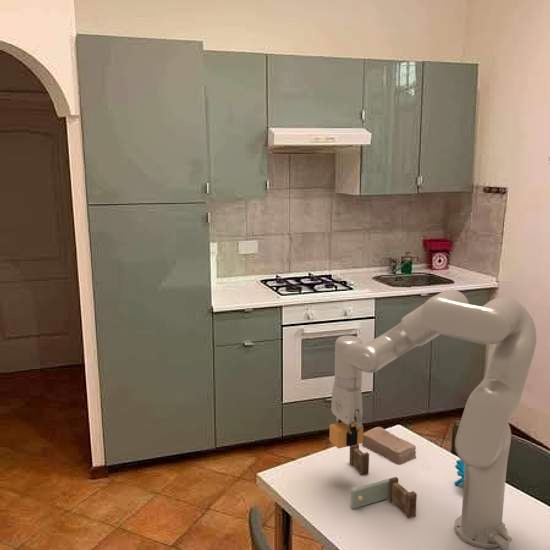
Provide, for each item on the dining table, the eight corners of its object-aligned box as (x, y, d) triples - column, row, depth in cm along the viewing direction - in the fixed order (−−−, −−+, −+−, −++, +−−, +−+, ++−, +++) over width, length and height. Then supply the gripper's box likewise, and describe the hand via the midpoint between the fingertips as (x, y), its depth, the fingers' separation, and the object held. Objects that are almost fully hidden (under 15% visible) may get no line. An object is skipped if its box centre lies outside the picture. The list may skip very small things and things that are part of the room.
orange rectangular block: (362, 443, 164) (363, 426, 163) (338, 448, 161) (338, 432, 160) (353, 435, 169) (354, 419, 168) (329, 440, 166) (329, 424, 165)
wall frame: (415, 516, 152) (416, 493, 151) (408, 518, 151) (409, 496, 150) (356, 462, 179) (356, 442, 178) (349, 464, 178) (349, 444, 177)
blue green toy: (477, 496, 158) (454, 463, 161) (461, 506, 161) (438, 473, 164) (489, 483, 167) (466, 452, 170) (473, 492, 170) (451, 462, 173)
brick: (417, 457, 182) (417, 443, 181) (399, 466, 177) (399, 452, 176) (378, 438, 195) (378, 425, 194) (360, 445, 190) (360, 432, 189)
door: (390, 494, 161) (390, 478, 160) (395, 499, 159) (396, 482, 158) (350, 506, 156) (351, 489, 155) (355, 511, 154) (356, 493, 153)
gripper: (321, 372, 168) (321, 430, 171) (352, 393, 152) (350, 457, 156) (344, 368, 170) (343, 425, 174) (376, 389, 155) (374, 451, 159)
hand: (346, 440), depth 165 cm, fingers closed on orange rectangular block, 4 cm apart
